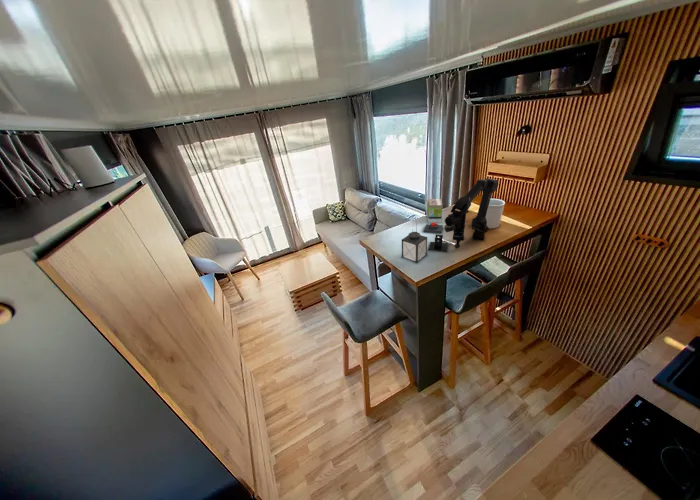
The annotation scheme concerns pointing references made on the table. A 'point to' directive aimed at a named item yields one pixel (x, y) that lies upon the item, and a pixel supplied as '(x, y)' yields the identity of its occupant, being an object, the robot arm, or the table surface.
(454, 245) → the lever
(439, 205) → the tea box
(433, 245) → the bracket
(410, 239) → the lantern
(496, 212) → the utensil holder
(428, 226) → the button block
